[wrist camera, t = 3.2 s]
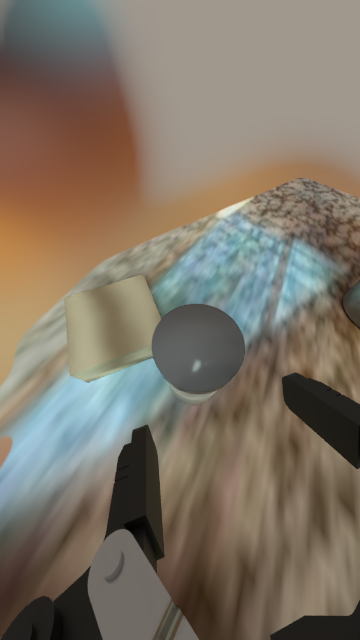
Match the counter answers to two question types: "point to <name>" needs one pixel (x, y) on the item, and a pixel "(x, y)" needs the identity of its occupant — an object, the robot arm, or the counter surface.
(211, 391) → the spice jar
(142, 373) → the counter surface
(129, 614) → the robot arm
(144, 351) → the maple base
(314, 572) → the counter surface
